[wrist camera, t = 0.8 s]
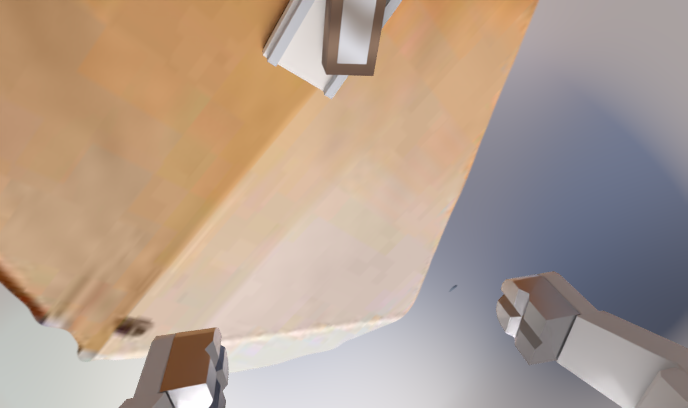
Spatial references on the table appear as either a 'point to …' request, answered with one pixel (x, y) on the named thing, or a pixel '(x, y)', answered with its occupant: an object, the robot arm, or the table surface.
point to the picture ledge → (307, 43)
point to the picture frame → (351, 36)
